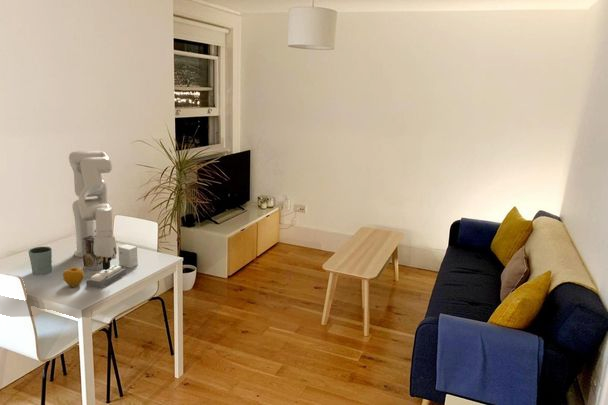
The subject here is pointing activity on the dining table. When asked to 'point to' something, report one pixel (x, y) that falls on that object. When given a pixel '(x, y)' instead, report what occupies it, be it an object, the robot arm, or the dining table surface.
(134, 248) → the small box
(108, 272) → the key middle
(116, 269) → the key
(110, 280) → the keypad housing
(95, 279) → the key
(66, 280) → the apple
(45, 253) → the green cup
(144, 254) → the dining table surface
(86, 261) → the coffee box
